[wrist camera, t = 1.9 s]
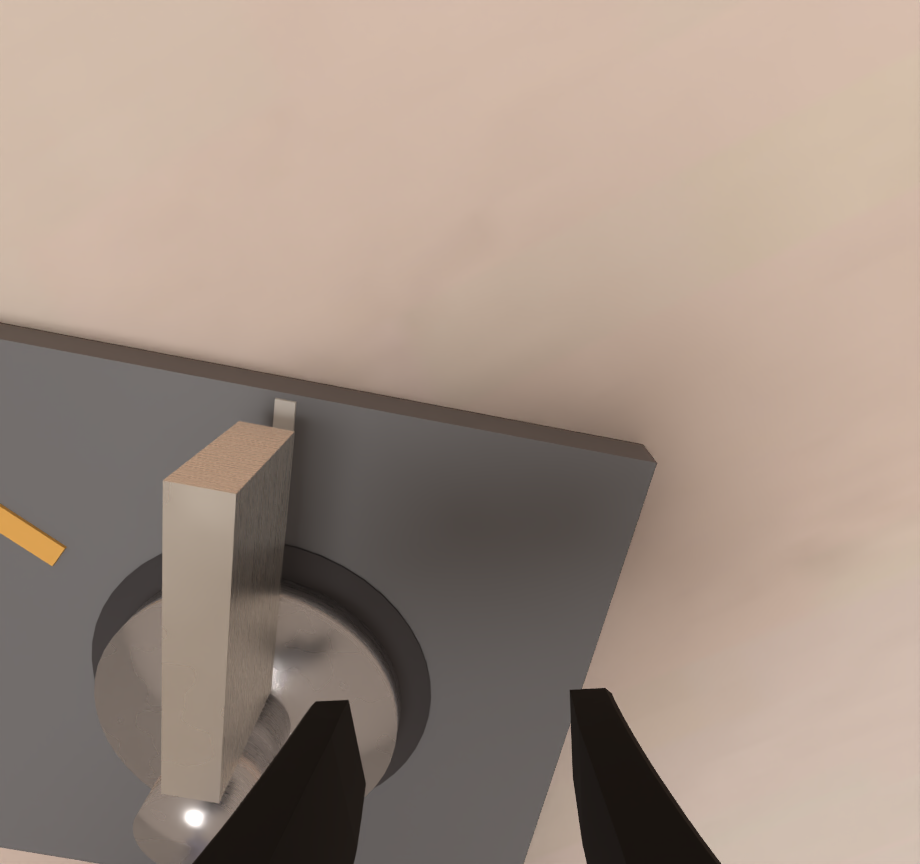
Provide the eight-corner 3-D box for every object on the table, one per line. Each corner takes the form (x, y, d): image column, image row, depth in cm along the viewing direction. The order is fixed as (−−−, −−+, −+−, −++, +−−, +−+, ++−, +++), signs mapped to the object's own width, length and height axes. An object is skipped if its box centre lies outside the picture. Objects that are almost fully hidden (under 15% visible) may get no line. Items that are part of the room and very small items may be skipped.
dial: (380, 818, 21) (352, 979, 17) (117, 773, 21) (16, 925, 16) (453, 445, 16) (441, 531, 12) (105, 380, 16) (-49, 441, 11)
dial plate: (500, 890, 25) (501, 932, 24) (11, 809, 25) (-19, 846, 23) (643, 444, 18) (658, 464, 16) (-51, 313, 17) (-101, 321, 16)
